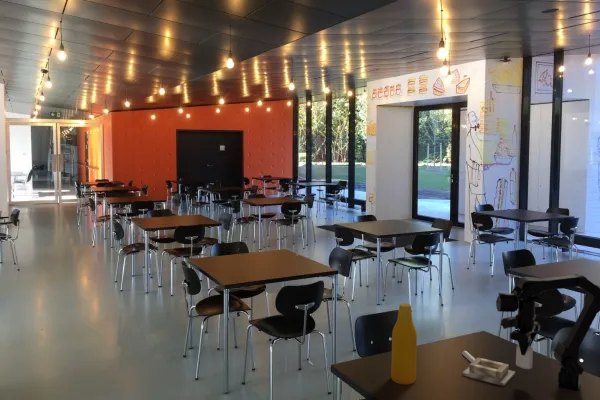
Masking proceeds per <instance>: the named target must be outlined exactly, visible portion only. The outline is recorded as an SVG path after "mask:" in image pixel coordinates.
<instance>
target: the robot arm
mask: <svg viewBox="0 0 600 400" xmlns="http://www.w3.org/2000/svg"><path fill="white" fill-rule="evenodd" d="M569 288H580V289H581V290H582V291H583V292H585V294H584V298H583V307H582V309H581V311H580V313H579V315H578V317H577V318H576V321H575V322H574V324H573V327H572V328H571V330H570V333H569V334H568V336H567V338H566V339H565V341H563V342H560V341H557V344H556V347H555V348H554V349H553V352H554V353H553V357H554V359H555V361H556V362H557V363H558V365H559V366H560V369H559V371H558V373H557V376H558V377H557V383H558V387H559V388H562V389H563V388H564V389H568V390H571V391H576V392H578V391H579V390H580V387H581V385H582V384H581V375H583V372H584V371H585V370H584V369H585V368H583V367H582V365H580V364H579V363H578V361H579V358H580V348H581V345H582V344H583V341H584V340H585V337H586V336H587V333H588V331H589V330H590V328H591V326H592V324H593V323H594V320H595V318H596V316H597V314H598V313H599V312H600V285H598V284H595V283H593V282H592V281H591V280H589V279H587V277H586V276H585V275H583V274H580V273H575V274H573V275H572V274H570V275H563V276H562V275H560V276H553V277H544V278H540V277H533V276H532V277H531V276H523V277H520V278H519V279H518V281H517V283H516V285H515V287H513V289H512V290H511V291H510V293H506V292H505V293H504V292H498V296H497V297H496V300H495V306H496V310H497V312H500V313H501V312H502V313H506V312H507V313H515V312H516V311H517V313H516V314H515V315H514V316H509V317H508V316H507V317H503V318H502V319H501V320H500V326H501V327H502V329H503V330H507V329H511V328H514V330H512V332H510V333H509V340H512V341H516V342H517V343H518V345H519V347H520V351H521V355H525V353H526V351H527V349H528V347H529V346H530V347H532V344H533V343H534V341H535V339H536V337H537V335H538V333H537V332H540V330H541V323H539V322H538V321H535V320H536V318H537V314H536V302H542V300H543V299H541V298H540V297H539V296H538V295H540V294H542V293H543V292H546V291H552V290H562V289H569ZM534 330H536V332H534Z"/></svg>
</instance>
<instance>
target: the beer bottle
mask: <svg viewBox="0 0 600 400" xmlns="http://www.w3.org/2000/svg"><path fill="white" fill-rule="evenodd" d="M417 341H418V333H417V329H416V325H415V324H414V321H413V313H412V304H410V303H405V302H404V303H399V305H398V314H397V320H396V322H395V324H394V326H393V328H392V332H391V368H390V369H391V370H390V377H391V380H392V382H394V383H396V384H399V385H404V386H405V385H412V384H414V383H415V382H416V379H417V346H418V344H417V343H418V342H417Z"/></svg>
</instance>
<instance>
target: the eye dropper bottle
mask: <svg viewBox="0 0 600 400" xmlns="http://www.w3.org/2000/svg"><path fill="white" fill-rule="evenodd" d="M515 350H516V351H515V352H516V353H515V365H516V366H517V367H518V368H521V369H524V370H531V369H532V368H533V359H534V358H533V355H534V350H533V347H532V346H529V347H528V349H527V351H526V353H525V355H521V351H520V347H519V344H517V345H516V349H515Z"/></svg>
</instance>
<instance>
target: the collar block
mask: <svg viewBox="0 0 600 400" xmlns="http://www.w3.org/2000/svg"><path fill="white" fill-rule="evenodd" d="M509 366H510V365H509V364H508V363H503V362H498V361H495V360H490V359H486V358H481V357H476V358H475V360H474V361H473V362H472V363H471V362H470V363H469V366H467V368H466V369H464V370H463V371H462V372H461V375H462V376H463V377H464V376H465V377H468V378H471V379H476V380H477V381H478V380H479V381H483V382H486V383H491V384H494V385H498V386H502V387H505V386H506V385H507V384H508V383H509V382H510V381H511V380H512V379H513V377H514V376H515V375H516V371H515V370H510V369H509V368H510V367H509Z"/></svg>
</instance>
